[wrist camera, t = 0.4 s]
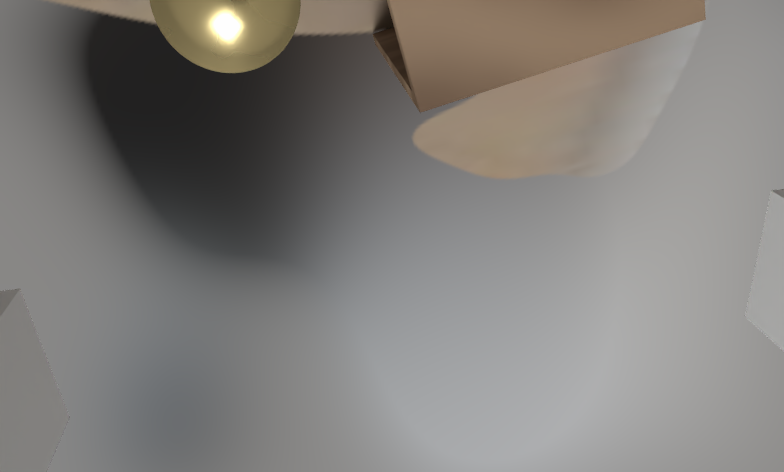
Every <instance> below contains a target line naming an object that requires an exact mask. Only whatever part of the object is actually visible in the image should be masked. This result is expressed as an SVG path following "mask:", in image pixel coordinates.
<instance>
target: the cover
mask: <svg viewBox="0 0 784 472" xmlns="http://www.w3.org/2000/svg"><path fill="white" fill-rule="evenodd" d="M387 3H388V7H389V10H390V14H391V17H392V21H393V25H394V27H393V28H390V29H387V30H384V31H381V32H377V33H374V34H373V37H374V41H375V44H376V46H377V47H378V49H379V50H380V52H381V54H382V55H383V57H384V58H385V59H386V61H387V62H388V64H389V66H390V67H391V69H392V70H393V72H394V73H395V75H396V76H397V78H398V79H399V81H400V83H401V84H402V86H403V87H404V89H405V90H406V92H407V93H408V95H409V96H410V98H411V99H412V101H413V102H414V104H415V105H416V107H417V108H418V109H419V112H424V111H427V110H430V109H433V108H436V107H439V106H442V105H445V104H448V103H451V102H454V101H457V100H460V99H464V98H467V97H470V96H473V95H476V94H479V93H482V92H485V91H488V90H491V89H494V88H497V87H500V86H503V85H506V84H509V83H513V82H516V81H519V80H522V79H525V78H528V77H531V76H534V75H537V74H540V73H543V72H546V71H549V70H552V69H555V68H558V67H562V66H565V65H568V64H571V63H574V62H577V61H580V60H583V59H586V58H589V57H592V56H595V55H598V54H601V53H604V52H607V51H611V50H614V49H617V48H620V47H623V46H626V45H629V44H632V43H635V42H638V41H641V40H644V39H647V38H650V37H653V36H656V35H660V34H663V33H666V32H669V31H672V30H675V29H678V28H681V27H684V26H687V25H690V24H693V23H696V22H699V21H702V20H705V19H706V18H705V2H704V0H387Z"/></svg>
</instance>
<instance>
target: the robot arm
mask: <svg viewBox="0 0 784 472" xmlns="http://www.w3.org/2000/svg"><path fill="white" fill-rule="evenodd" d="M745 317H746V318H747V319H748V320H749V321H750V322H751V323H752V324H754V325H755V326H756V327H757V328H758V329H759V330H760V331H762V333H764V334H765V335H766V336H767V337H768V338H769V339H770V340H771V341H773V342H774V343H775V344H776V345H777V346H778V347H779V348H781V350H783V351H784V189H781V190H773V191H771V194H770V199H769V204H768V208H767V213H766V218H765V223H764V228H763V232H762V238H761V242H760V247H759V252H758V257H757V261H756V266H755V271H754V276H753V281H752V286H751V290H750V295H749V300H748V305H747V309H746V314H745ZM69 418H70V416H69V414H68V411H67V409H66V406H65V403H64V401H63V398H62V396H61V393H60V391H59V388H58V386H57V383H56V380H55V378H54V375H53V372H52V370H51V368H50V365H49V362H48V360H47V357H46V354H45V352H44V349H43V347H42V344H41V342H40V339H39V337H38V334H37V331H36V329H35V326H34V324H33V321H32V318H31V316H30V313H29V311H28V308H27V306H26V303H25V300H24V298H23V295H22V293H21V291H20V289H15V290H6V291H0V472H47V470H48V468H49V465H50V463H51V461H52V458H53V456H54V453H55V451H56V449H57V446H58V444H59V442H60V439H61V437H62V435H63V432H64V430H65V428H66V425H67V423H68V420H69Z"/></svg>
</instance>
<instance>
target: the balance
mask: <svg viewBox="0 0 784 472" xmlns="http://www.w3.org/2000/svg"><path fill="white" fill-rule="evenodd" d="M150 4H151V8H152V12H153V15H154V18H155V20H156V23H157V25H158V27H159V28H160V30H161V32H162V33H163V35H164V36H165V38H166V39H167V40H168V42H169V43H170V44H171V45H172V46H173V48H175V49H176V50H177V51H178V52H179V53H180V54H181V55H183V56H184V57H185V58H187V59H188V60H190V61H191V62H193V63H195V64H197V65H199V66H201V67H204V68H206V69H210V70H213V71H217V72H224V73H239V72H246V71H250V70H254V69H256V68H259V67H261V66H263V65H265V64H267V63H268V62H270V61H271V60H273V59H274V58H275V57H277V55H279V54H280V53H281V52H282V51H283V50H284V48H285V47H286V45H287V44H288V43H289V41H290V40H291V38H292V36H293V34H294V32H295V29H296V27H297V23H298V19H299V14H300V0H150Z"/></svg>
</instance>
